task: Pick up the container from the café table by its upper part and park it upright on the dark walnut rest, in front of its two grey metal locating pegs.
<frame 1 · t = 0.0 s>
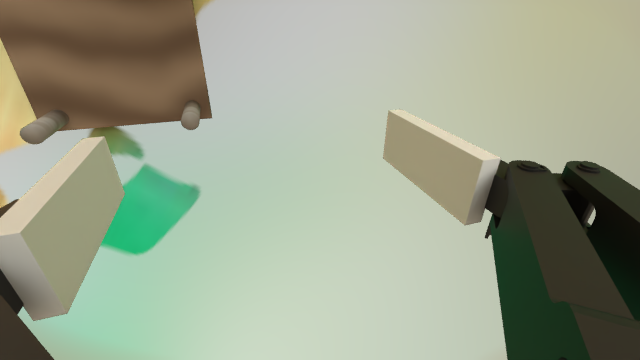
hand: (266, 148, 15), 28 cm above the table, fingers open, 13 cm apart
rest: (112, 41, 33), on the table
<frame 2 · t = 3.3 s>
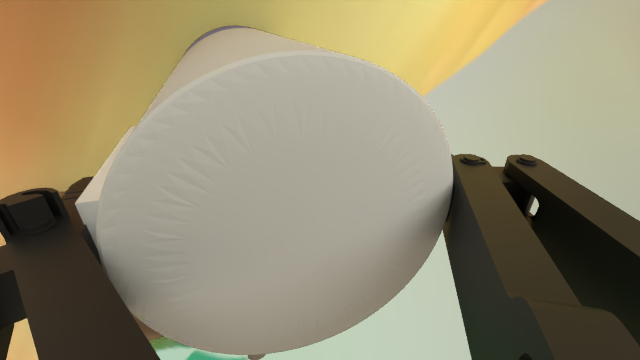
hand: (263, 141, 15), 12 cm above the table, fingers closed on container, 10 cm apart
rest: (170, 259, 30), on the table
container: (242, 92, 25), on the table, touching gripper
when the fingers open (14 cm above the table, at t = 8.1 s): container stays where it is, resting on rest.
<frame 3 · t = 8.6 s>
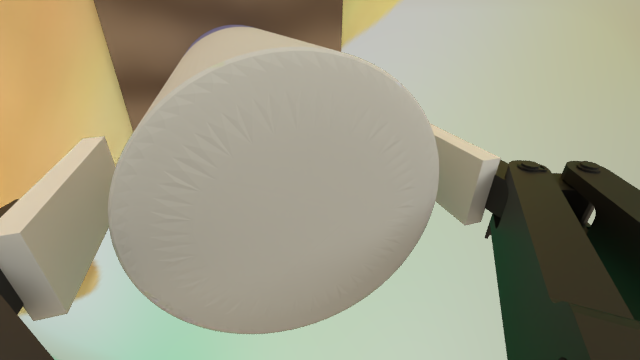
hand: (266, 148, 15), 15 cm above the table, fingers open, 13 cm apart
rest: (240, 87, 27), on the table
container: (242, 89, 26), point 1 cm above the table, touching rest
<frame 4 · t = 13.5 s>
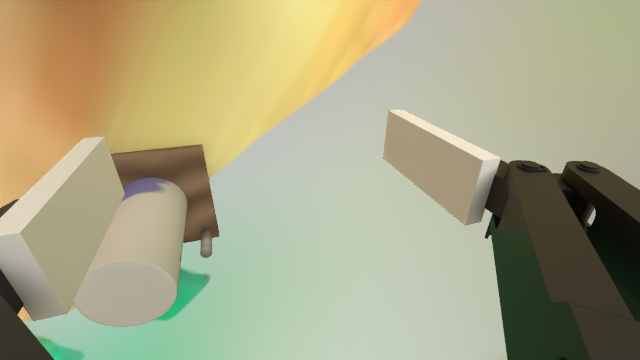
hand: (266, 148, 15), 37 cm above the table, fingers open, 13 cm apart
rest: (155, 199, 52), on the table
container: (154, 203, 51), point 1 cm above the table, touching rest
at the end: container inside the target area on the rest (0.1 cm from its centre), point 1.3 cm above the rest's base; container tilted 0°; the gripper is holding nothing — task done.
